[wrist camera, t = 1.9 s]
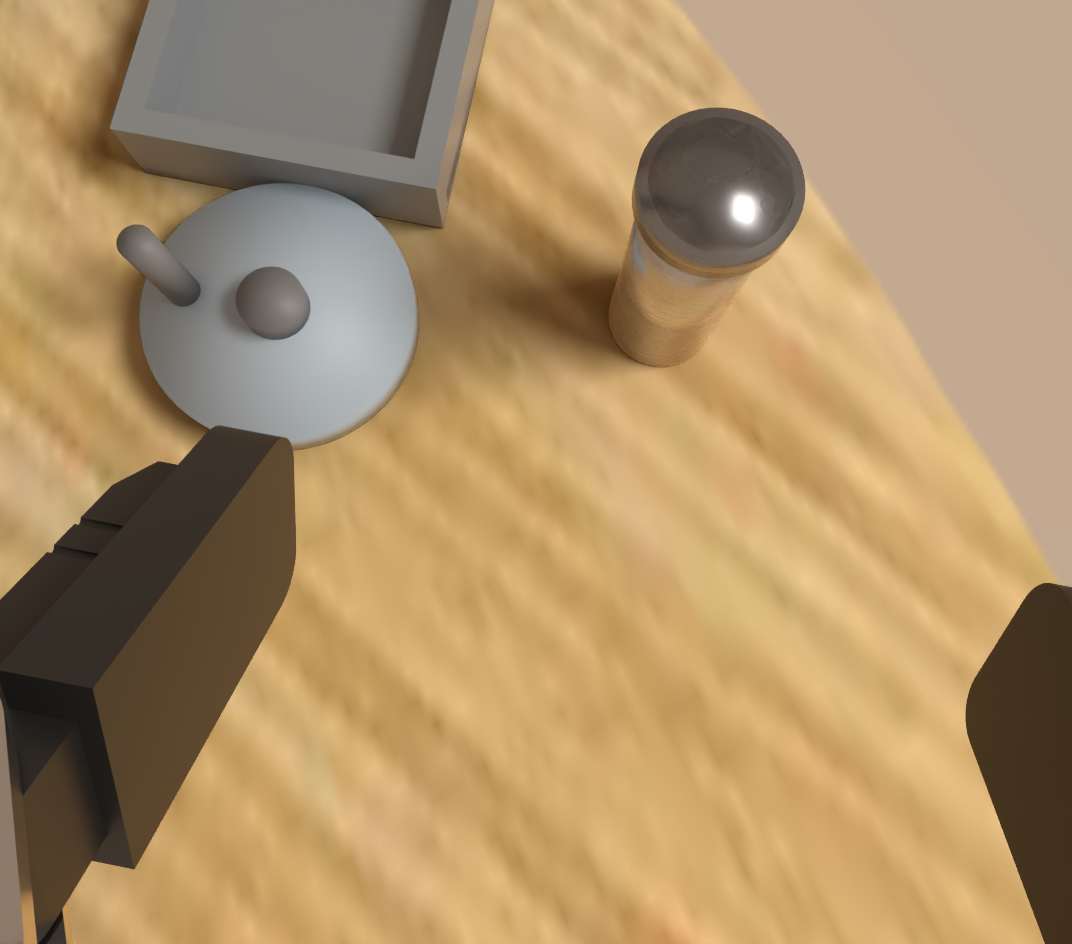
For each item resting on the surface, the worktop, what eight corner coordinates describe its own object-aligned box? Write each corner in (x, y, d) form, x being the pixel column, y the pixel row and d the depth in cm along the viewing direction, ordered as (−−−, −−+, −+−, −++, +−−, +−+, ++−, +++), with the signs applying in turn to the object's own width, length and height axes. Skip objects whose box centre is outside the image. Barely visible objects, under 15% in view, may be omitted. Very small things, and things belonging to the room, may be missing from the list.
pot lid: (125, 423, 31) (44, 381, 26) (194, 182, 33) (132, 95, 28) (387, 473, 31) (361, 441, 26) (442, 228, 33) (428, 150, 28)
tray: (145, 172, 33) (109, 128, 30) (222, -84, 36) (195, -148, 33) (442, 228, 33) (435, 188, 30) (501, -33, 35) (500, -93, 32)
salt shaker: (591, 362, 32) (623, 245, 22) (611, 252, 33) (651, 93, 23) (709, 384, 32) (793, 277, 22) (726, 273, 33) (815, 124, 23)
